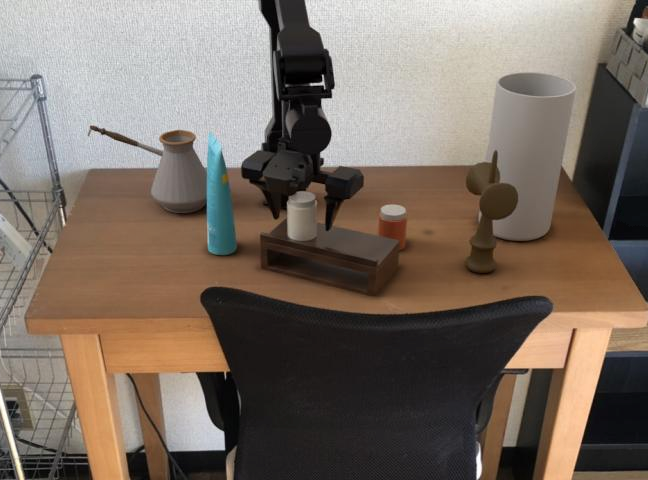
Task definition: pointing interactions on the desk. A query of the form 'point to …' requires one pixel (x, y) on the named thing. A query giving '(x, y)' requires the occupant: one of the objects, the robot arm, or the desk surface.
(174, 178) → the coffee pot
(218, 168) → the tube
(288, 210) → the white lidded jar
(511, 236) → the cylinder vase
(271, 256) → the shelf
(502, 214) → the kendama
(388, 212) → the orange lidded jar
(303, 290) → the desk surface
